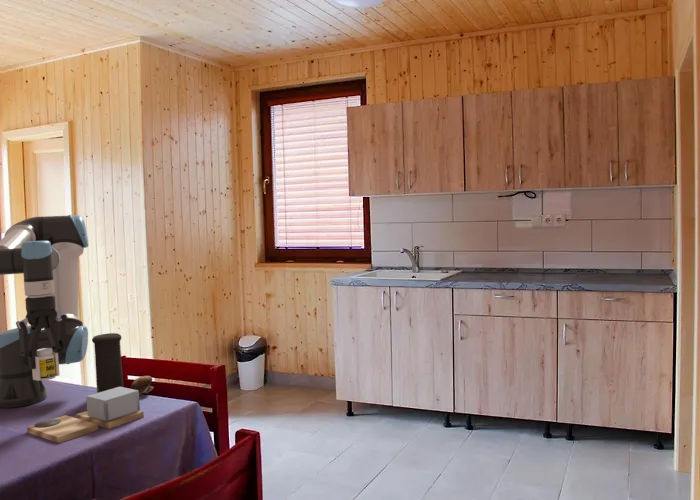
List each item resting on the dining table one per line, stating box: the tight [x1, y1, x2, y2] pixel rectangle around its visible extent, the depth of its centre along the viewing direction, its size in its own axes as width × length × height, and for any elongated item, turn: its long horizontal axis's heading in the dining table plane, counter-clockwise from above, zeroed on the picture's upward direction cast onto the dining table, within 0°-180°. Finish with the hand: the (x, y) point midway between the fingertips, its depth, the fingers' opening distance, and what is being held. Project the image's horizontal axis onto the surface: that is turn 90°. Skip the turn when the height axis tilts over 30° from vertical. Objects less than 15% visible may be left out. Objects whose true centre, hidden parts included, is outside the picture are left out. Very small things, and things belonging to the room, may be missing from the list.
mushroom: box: [130, 375, 155, 396], centre depth 202 cm, size 8×8×6 cm
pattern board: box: [75, 410, 145, 430], centre depth 179 cm, size 16×11×4 cm
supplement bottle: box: [37, 348, 57, 381], centre depth 177 cm, size 5×5×8 cm
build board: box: [26, 415, 99, 444], centre depth 170 cm, size 17×11×2 cm, turn 54°
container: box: [91, 332, 125, 393], centre depth 202 cm, size 9×9×20 cm
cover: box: [86, 387, 141, 421], centre depth 177 cm, size 9×11×6 cm
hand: (46, 377), depth 178 cm, fingers closed on supplement bottle, 5 cm apart
